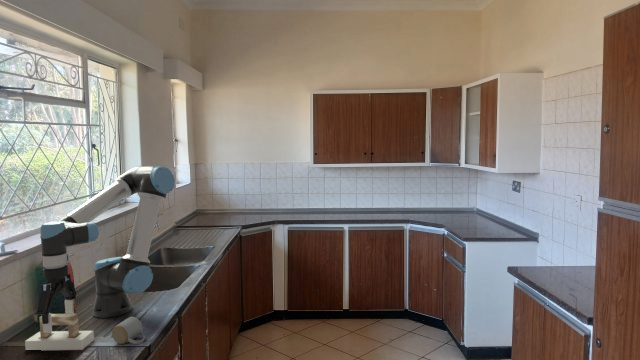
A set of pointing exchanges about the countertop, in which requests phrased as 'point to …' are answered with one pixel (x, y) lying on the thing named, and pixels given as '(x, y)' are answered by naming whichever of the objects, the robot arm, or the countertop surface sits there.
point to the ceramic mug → (128, 331)
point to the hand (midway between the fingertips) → (59, 324)
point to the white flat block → (60, 341)
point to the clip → (62, 320)
